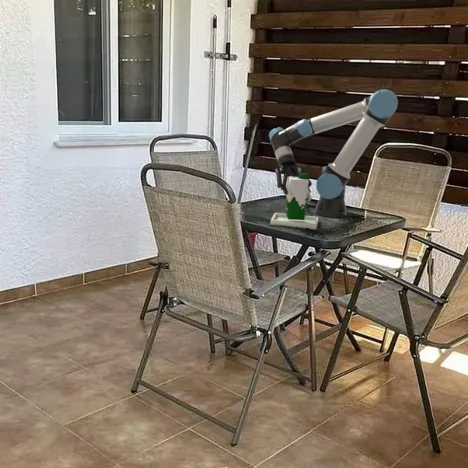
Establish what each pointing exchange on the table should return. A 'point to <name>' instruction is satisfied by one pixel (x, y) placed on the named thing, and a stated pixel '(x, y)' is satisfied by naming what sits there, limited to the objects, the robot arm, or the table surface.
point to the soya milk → (297, 197)
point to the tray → (294, 221)
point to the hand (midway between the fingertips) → (300, 200)
